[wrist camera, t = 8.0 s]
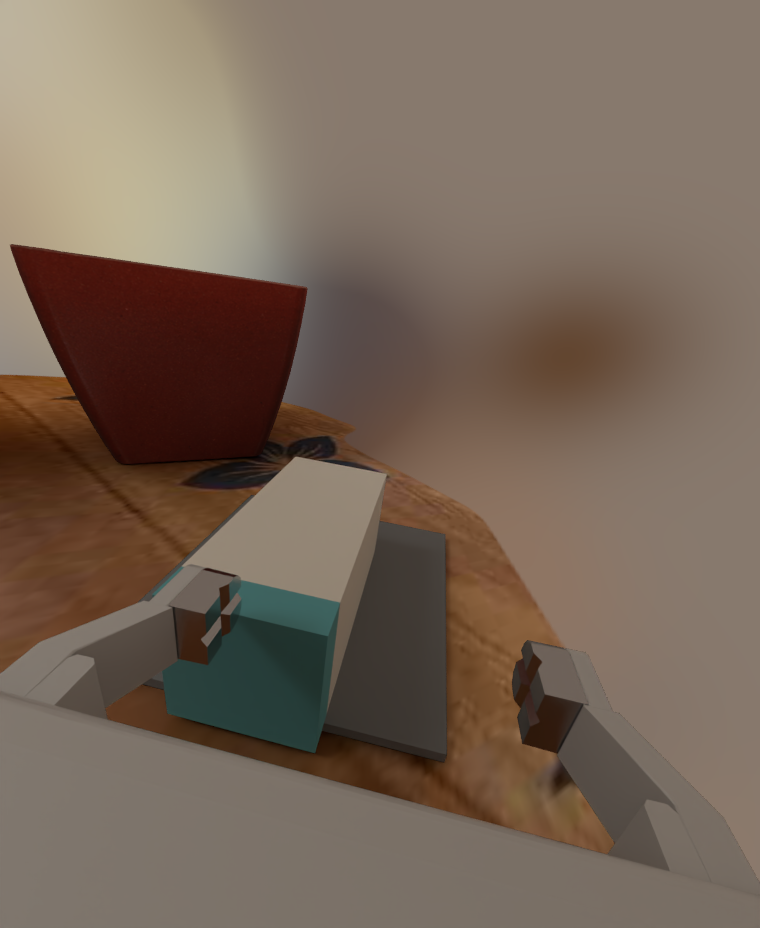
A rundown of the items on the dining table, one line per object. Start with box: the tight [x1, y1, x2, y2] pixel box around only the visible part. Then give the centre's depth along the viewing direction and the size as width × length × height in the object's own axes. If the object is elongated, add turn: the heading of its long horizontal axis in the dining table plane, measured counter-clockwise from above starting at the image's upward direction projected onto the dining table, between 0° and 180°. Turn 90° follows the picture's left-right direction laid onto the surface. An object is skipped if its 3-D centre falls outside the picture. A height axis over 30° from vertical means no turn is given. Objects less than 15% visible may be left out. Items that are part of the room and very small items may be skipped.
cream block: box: [152, 457, 387, 753], centre depth 19 cm, size 6×6×13 cm
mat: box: [138, 495, 447, 762], centre depth 23 cm, size 16×16×1 cm
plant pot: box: [10, 244, 307, 464], centre depth 38 cm, size 19×19×17 cm
